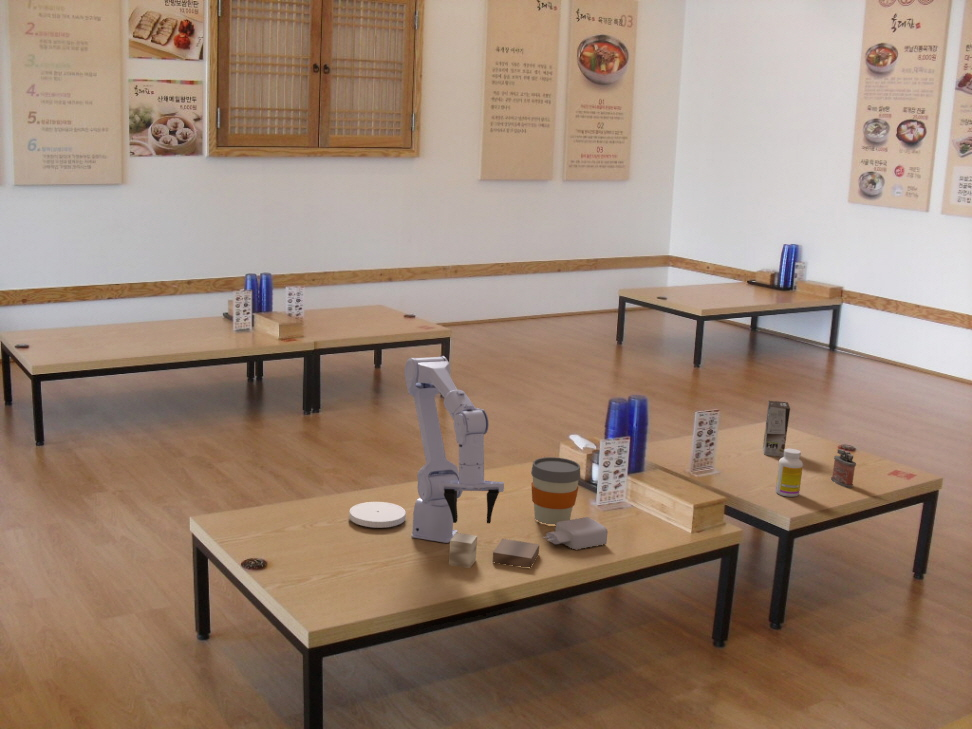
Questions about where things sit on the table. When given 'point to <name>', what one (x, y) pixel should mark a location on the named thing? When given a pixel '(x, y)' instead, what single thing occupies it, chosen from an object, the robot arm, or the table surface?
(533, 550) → the walnut slab
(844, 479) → the lighter
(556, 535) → the charger
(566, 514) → the reusable coffee cup
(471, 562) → the maple block
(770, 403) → the coffee box
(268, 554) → the table surface
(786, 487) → the supplement bottle
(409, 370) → the robot arm
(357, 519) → the plastic lid
